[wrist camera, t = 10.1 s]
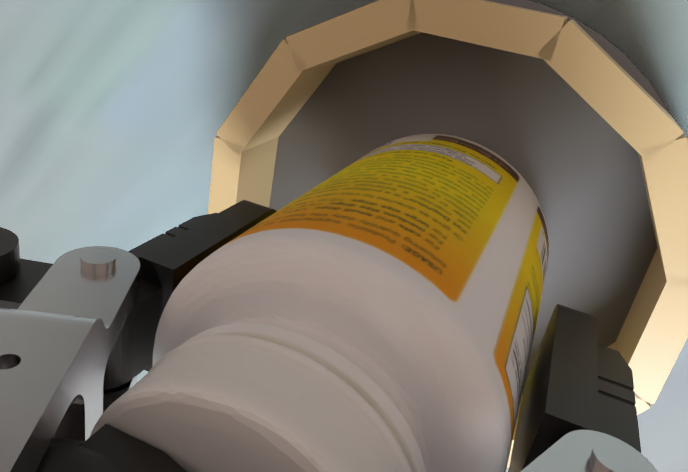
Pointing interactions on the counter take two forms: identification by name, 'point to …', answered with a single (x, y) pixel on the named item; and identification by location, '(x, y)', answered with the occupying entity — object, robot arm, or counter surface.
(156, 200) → the counter surface
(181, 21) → the counter surface
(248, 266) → the supplement bottle
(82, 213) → the counter surface
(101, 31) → the counter surface
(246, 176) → the tan faceted ring
